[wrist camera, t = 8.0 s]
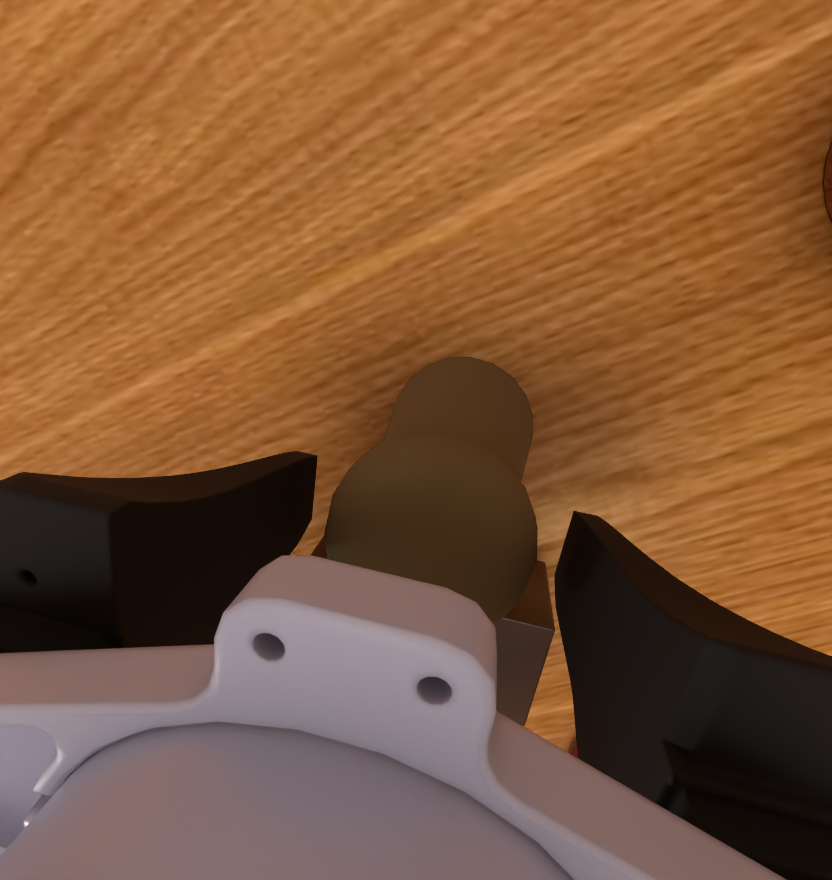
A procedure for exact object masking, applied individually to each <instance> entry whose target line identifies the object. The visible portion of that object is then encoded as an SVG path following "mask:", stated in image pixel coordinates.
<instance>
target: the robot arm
mask: <svg viewBox="0 0 832 880" xmlns="http://www.w3.org/2000/svg"><path fill="white" fill-rule="evenodd" d="M316 467H317V455H312V454H307V453H303V452H298V451H295V452H287V453H282V454H278V455H274V456H270V457H266V458H262V459H258V460H254V461H250V462H246V463H242V464H238V465H233V466H228V467H224V468H219V469H215V470H210V471H204V472H198V473H190V474H183V475H174V476H161V477H143V478H88V477H72V476H60V475H49V474H37V473H28V472H22V473H18V474H16V475H13V476H11V477H8V478H6V479H3V480H1V481H0V880H832V656H829V655H826V654H824V653H821V652H818V651H816V650H813V649H810V648H808V647H806V646H803V645H801V644H799V643H796V642H794V641H792V640H789V639H787V638H785V637H783V636H780V635H778V634H776V633H774V632H771V631H769V630H767V629H765V628H763V627H761V626H759V625H757V624H755V623H753V622H751V621H749V620H747V619H745V618H743V617H741V616H739V615H737V614H735V613H733V612H732V611H730V610H728V609H726V608H724V607H722V606H720V605H719V604H717V603H715V602H713V601H712V600H710V599H708V598H707V597H705V596H704V595H702V594H700V593H699V592H697V591H696V590H694V589H692V588H691V587H689V586H688V585H686V584H685V583H683V582H682V581H680V580H679V579H677V578H676V577H674V576H673V575H672V574H670V573H669V572H668V571H666V570H665V569H664V568H662V567H661V566H660V565H658V564H657V563H656V562H654V561H653V560H652V559H650V558H649V557H648V556H647V555H645V554H644V553H643V552H642V551H641V550H639V549H638V548H637V547H636V546H635V545H633V544H632V543H631V542H630V541H629V540H627V539H626V538H625V537H624V536H623V535H622V534H620V533H619V532H618V531H617V530H616V529H614V528H613V527H612V526H611V525H610V524H608V523H607V522H606V521H604V520H603V519H602V518H600V517H598V516H596V515H591V514H586V513H582V512H577V511H574V512H573V515H572V519H571V522H570V525H569V529H568V532H567V535H566V539H565V542H564V545H563V548H562V552H561V555H560V558H559V562H558V565H557V568H556V572H555V601H556V610H557V616H558V621H559V626H560V631H561V636H562V641H563V646H564V651H565V656H566V661H567V666H568V671H569V676H570V681H571V688H572V694H573V704H574V716H575V728H576V741H577V757H578V758H576V757H575V756H573V755H571V754H569V753H568V752H566V751H564V750H563V749H561V748H559V747H557V746H556V745H554V744H552V743H551V742H549V741H547V740H545V739H544V738H542V737H540V736H538V735H537V734H535V733H533V732H532V731H530V730H528V729H526V728H525V727H523V726H521V725H520V724H518V723H516V722H514V721H513V720H511V719H509V718H507V717H506V716H504V715H502V714H501V713H499V712H497V711H496V692H497V646H496V630H495V626H494V625H493V623H492V622H491V621H490V619H489V618H488V617H487V615H486V614H485V613H484V612H483V610H482V609H481V608H480V606H479V605H478V604H477V602H475V601H473V600H471V599H469V598H466V597H464V596H462V595H460V594H458V593H456V592H454V591H452V590H450V589H448V588H445V587H441V586H437V585H433V584H429V583H425V582H420V581H416V580H412V579H408V578H404V577H399V576H395V575H391V574H387V573H383V572H379V571H374V570H370V569H366V568H362V567H358V566H354V565H349V564H345V563H341V562H337V561H333V560H328V559H324V558H320V557H316V556H289V555H290V554H291V552H292V551H293V550H294V548H295V547H296V546H297V544H298V543H299V541H300V539H301V537H302V536H303V534H304V532H305V530H306V529H307V527H308V525H309V523H310V521H311V519H312V510H313V500H314V489H315V478H316Z"/></svg>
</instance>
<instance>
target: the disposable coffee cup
mask: <svg viewBox="0 0 832 880" xmlns="http://www.w3.org/2000/svg"><path fill="white" fill-rule="evenodd" d="M824 189H825V197H826V204H827V208H828V211H829V214H830V217H831V219H832V144H831V147H830V151H829V154H828V157H827V161H826V167H825V176H824Z"/></svg>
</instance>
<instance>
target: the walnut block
mask: <svg viewBox="0 0 832 880" xmlns="http://www.w3.org/2000/svg"><path fill="white" fill-rule="evenodd" d="M310 556H316V557H320V558H324V559H328V557H327V550H326V542H325V535H324V537H323V538H322V539H321V541H320V542H319V544H318V545H317V547H316V548H315V549H314V551H313V552H312V554H311V555H310ZM494 626H495V630H496V646H497V692H496V711H497V712H499V713H501V714H502V715H504V716H506V717H507V718H509V719H511V720H513V721H514V722H516V723H518V724H520V725H521V726H524V725H525V723H526V720H527V717H528V713H529V710H530V707H531V704H532V701H533V698H534V695H535V692H536V688H537V685H538V682H539V679H540V676H541V673H542V670H543V666H544V663H545V660H546V657H547V654H548V651H549V648H550V644H551V641H552V638H553V635H554V632H555V627H554V620H553V613H552V606H551V599H550V593H549V586H548V579H547V572H546V565H545V563H541V562H537V561H536V563H535V566H534V568H533V571H532V574H531V576H530V578H529V581H528V583H527V586H526V588H525V591H524V593H523V595H522V598H521V599H520V600H519V601H518V602H517V603H516V604H515V605H514V607H513V608H512V609H511V610H510V611H509V612H508V613H507V614H506V615H505V616H504V617H503V618H502V619H501V620H500V621H498V622H497V623H495V624H494Z"/></svg>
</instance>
